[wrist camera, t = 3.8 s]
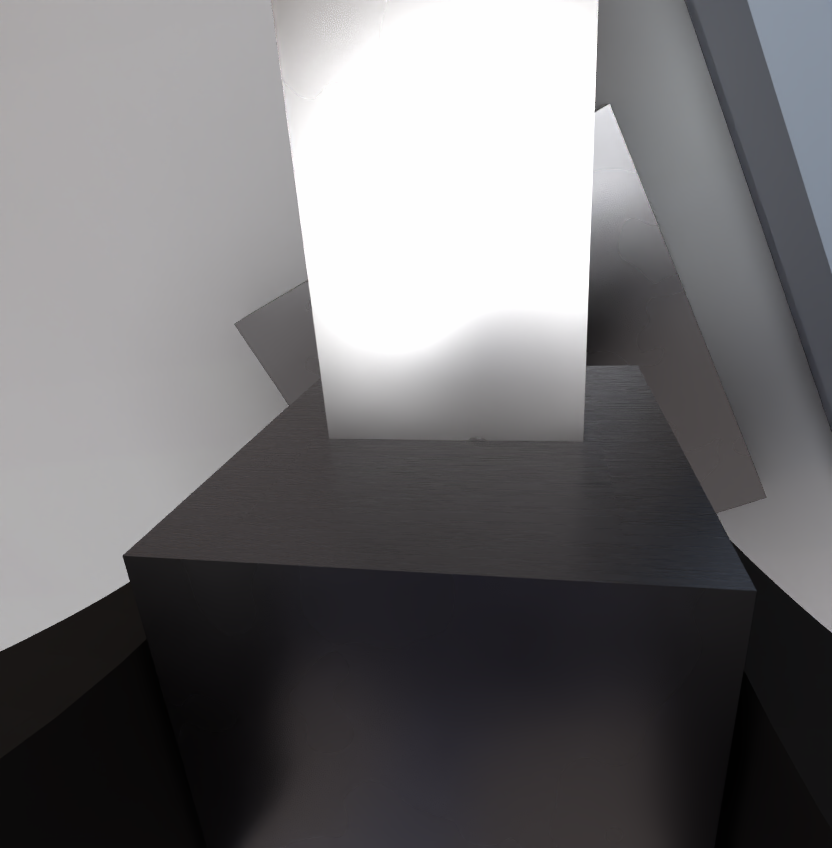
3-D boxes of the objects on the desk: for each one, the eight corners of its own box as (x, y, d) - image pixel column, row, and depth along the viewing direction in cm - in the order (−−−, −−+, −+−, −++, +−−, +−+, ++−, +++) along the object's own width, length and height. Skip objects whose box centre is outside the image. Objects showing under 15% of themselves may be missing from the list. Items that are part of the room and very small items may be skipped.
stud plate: (759, 485, 14) (849, 635, 10) (425, 590, 17) (390, 735, 13) (607, 104, 11) (644, 95, 7) (243, 317, 14) (127, 395, 10)
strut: (619, 626, 11) (688, 1006, 6) (359, 608, 12) (227, 920, 7) (669, -125, 7) (1004, -901, 2) (275, -59, 8) (-175, -465, 3)
